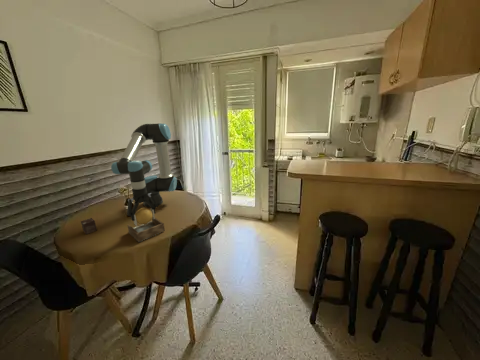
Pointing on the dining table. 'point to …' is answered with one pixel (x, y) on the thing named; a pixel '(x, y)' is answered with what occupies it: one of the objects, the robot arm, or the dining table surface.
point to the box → (88, 226)
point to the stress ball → (143, 216)
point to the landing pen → (146, 230)
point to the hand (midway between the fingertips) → (144, 221)
